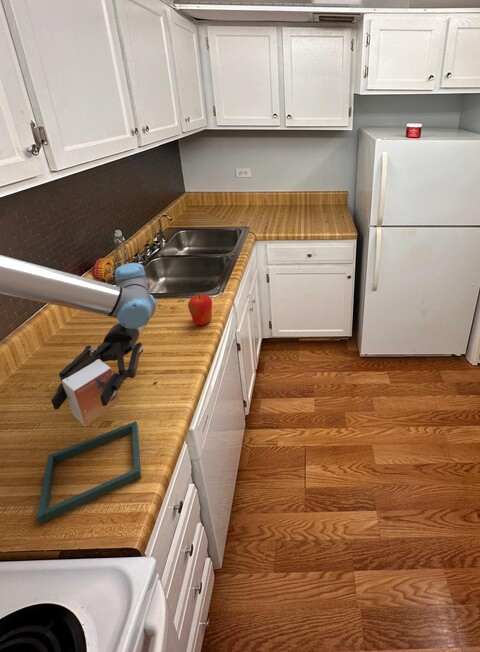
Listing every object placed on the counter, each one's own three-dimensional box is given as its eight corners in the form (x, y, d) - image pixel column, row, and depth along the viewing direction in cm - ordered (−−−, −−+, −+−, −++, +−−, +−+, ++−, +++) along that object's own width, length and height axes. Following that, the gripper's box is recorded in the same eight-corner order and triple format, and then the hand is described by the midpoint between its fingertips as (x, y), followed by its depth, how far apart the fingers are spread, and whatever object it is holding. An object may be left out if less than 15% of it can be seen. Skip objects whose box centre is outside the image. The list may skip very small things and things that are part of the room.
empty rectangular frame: (39, 524, 65) (36, 517, 64) (51, 461, 77) (48, 455, 76) (141, 477, 74) (139, 471, 73) (138, 427, 85) (136, 420, 84)
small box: (85, 427, 73) (72, 392, 69) (72, 415, 75) (60, 380, 72) (121, 401, 79) (111, 367, 75) (108, 391, 82) (98, 357, 78)
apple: (187, 321, 126) (183, 294, 121) (208, 312, 131) (204, 286, 127) (196, 332, 120) (192, 304, 115) (218, 322, 125) (215, 295, 121)
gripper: (79, 324, 89) (18, 393, 68) (163, 320, 91) (129, 385, 70) (86, 347, 92) (29, 419, 71) (167, 342, 94) (135, 411, 73)
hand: (79, 402), depth 70 cm, fingers closed on small box, 9 cm apart
